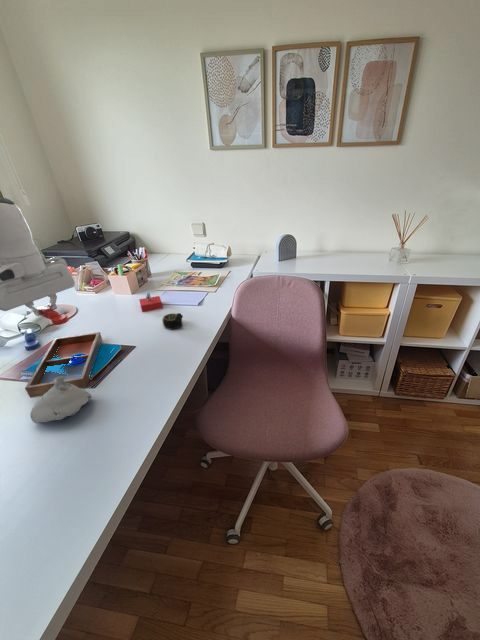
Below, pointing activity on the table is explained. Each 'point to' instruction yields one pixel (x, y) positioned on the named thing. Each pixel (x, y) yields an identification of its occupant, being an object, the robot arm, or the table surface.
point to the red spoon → (54, 316)
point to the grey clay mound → (59, 402)
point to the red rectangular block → (150, 303)
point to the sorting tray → (66, 349)
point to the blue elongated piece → (30, 340)
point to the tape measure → (172, 320)
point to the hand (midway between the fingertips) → (46, 312)
